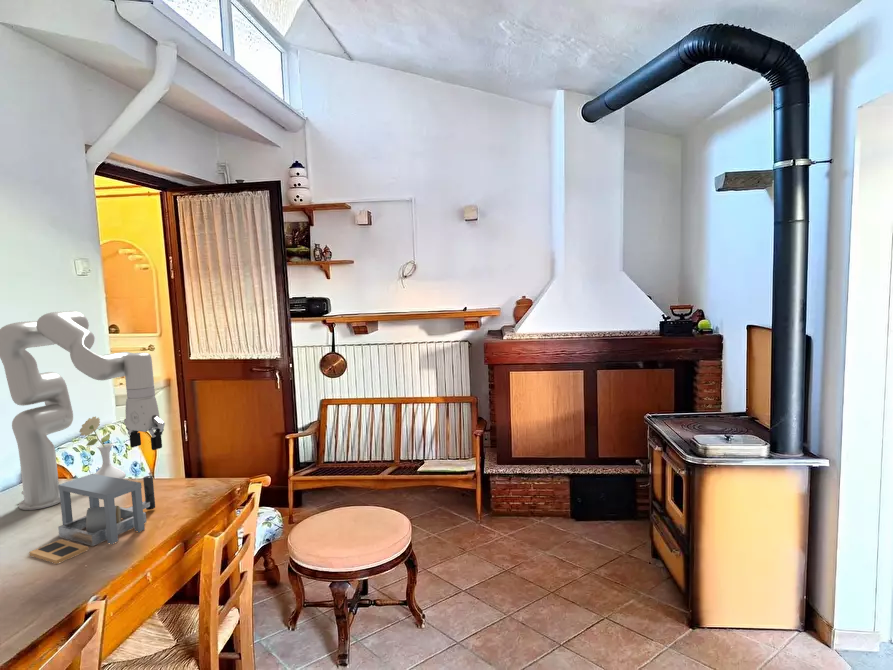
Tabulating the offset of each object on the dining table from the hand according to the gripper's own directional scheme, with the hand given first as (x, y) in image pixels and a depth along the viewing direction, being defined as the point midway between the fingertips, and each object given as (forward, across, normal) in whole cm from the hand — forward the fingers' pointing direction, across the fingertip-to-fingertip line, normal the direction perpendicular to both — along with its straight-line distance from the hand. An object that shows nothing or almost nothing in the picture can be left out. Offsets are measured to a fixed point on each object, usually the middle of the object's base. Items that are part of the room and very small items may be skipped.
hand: (146, 447), depth 173 cm
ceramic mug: (+21, -1, -15) cm, 25 cm away
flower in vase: (+20, -40, +11) cm, 46 cm away
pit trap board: (+20, +1, -29) cm, 35 cm away
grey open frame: (+20, -1, -11) cm, 23 cm away
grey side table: (+20, -1, -15) cm, 25 cm away
